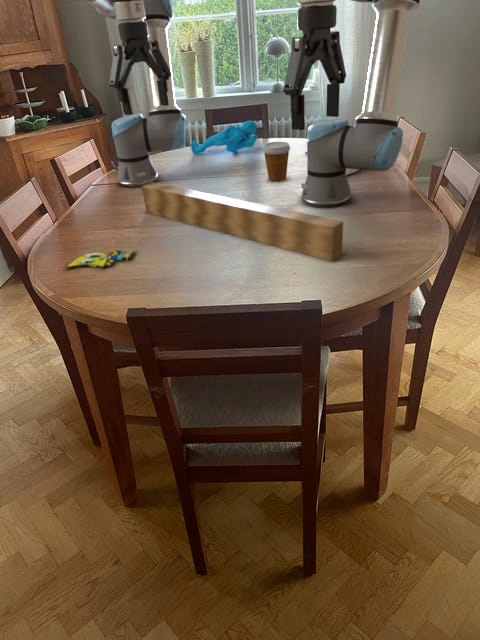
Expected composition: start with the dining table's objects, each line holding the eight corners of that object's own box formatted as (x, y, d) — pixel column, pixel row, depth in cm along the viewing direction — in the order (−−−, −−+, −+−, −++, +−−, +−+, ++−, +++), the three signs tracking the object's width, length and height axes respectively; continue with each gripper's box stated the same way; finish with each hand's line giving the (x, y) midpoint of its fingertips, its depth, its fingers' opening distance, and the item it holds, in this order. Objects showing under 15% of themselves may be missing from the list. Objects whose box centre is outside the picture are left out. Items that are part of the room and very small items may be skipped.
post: (146, 212, 154) (141, 186, 150) (157, 207, 157) (152, 181, 152) (332, 261, 115) (333, 227, 110) (341, 254, 118) (343, 221, 113)
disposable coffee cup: (260, 182, 170) (258, 147, 164) (269, 174, 177) (267, 141, 171) (286, 183, 167) (285, 148, 160) (294, 175, 174) (293, 141, 168)
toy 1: (121, 265, 120) (65, 266, 122) (122, 268, 120) (66, 269, 122) (134, 248, 128) (81, 249, 130) (135, 251, 129) (82, 251, 131)
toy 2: (195, 134, 218) (257, 114, 208) (203, 157, 223) (264, 139, 213) (184, 143, 204) (250, 123, 194) (193, 168, 209) (257, 149, 199)
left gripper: (100, 24, 114) (120, 119, 126) (176, 17, 129) (187, 102, 141) (82, 26, 118) (102, 117, 130) (158, 18, 134) (170, 101, 145)
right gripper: (296, 7, 82) (297, 136, 93) (366, 0, 97) (359, 112, 109) (261, 10, 86) (267, 133, 98) (333, 3, 102) (331, 110, 113)
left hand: (146, 109), depth 135 cm, fingers open, 13 cm apart
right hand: (315, 122), depth 103 cm, fingers open, 13 cm apart
